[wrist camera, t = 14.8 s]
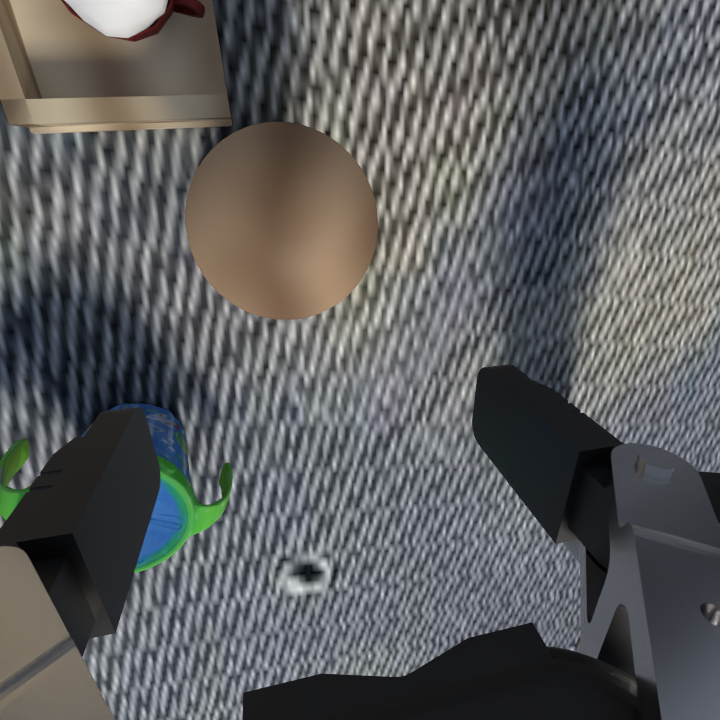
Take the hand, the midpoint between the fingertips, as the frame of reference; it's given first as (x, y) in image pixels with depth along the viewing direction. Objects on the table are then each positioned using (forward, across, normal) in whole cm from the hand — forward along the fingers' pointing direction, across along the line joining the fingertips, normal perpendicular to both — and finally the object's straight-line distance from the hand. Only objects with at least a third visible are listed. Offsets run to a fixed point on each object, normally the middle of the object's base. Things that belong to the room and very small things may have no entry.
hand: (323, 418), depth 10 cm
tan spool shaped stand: (+26, 0, -2) cm, 26 cm away
